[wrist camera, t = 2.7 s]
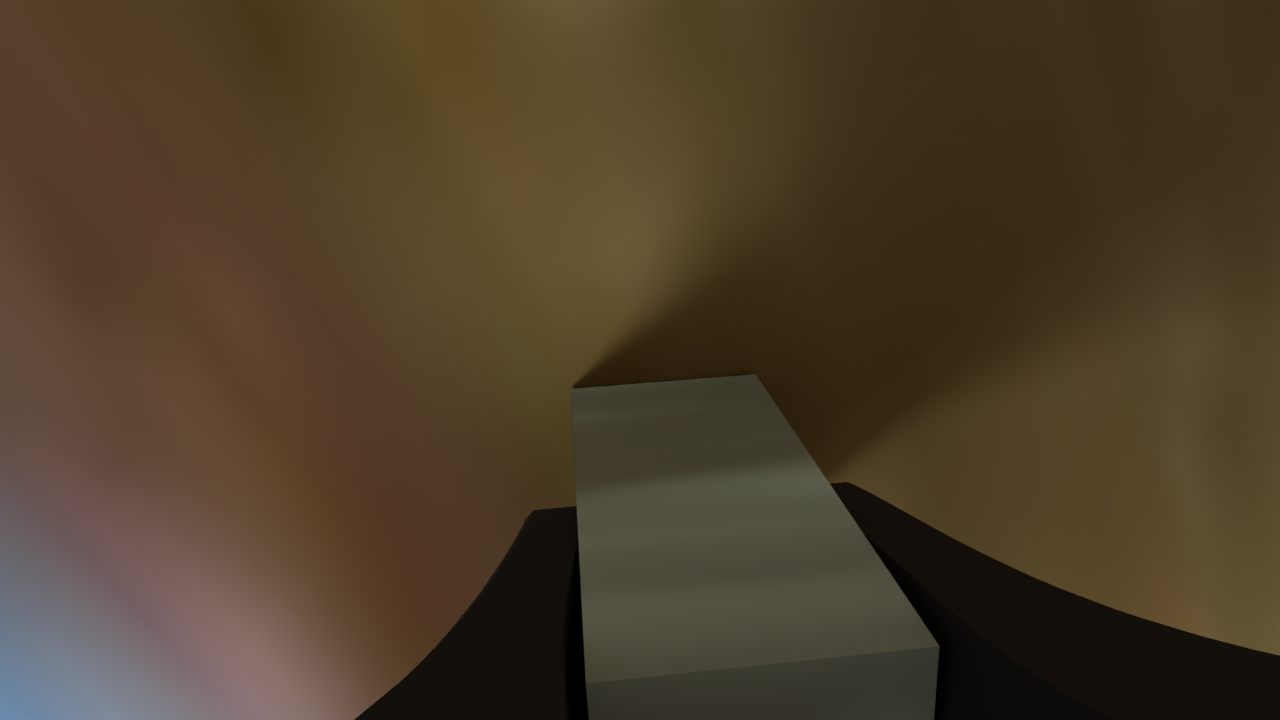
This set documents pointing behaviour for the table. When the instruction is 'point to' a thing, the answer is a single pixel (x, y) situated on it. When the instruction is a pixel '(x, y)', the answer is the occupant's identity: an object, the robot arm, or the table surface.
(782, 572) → the gray rectangular block
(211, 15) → the table surface
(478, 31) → the table surface
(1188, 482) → the table surface
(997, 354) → the table surface
